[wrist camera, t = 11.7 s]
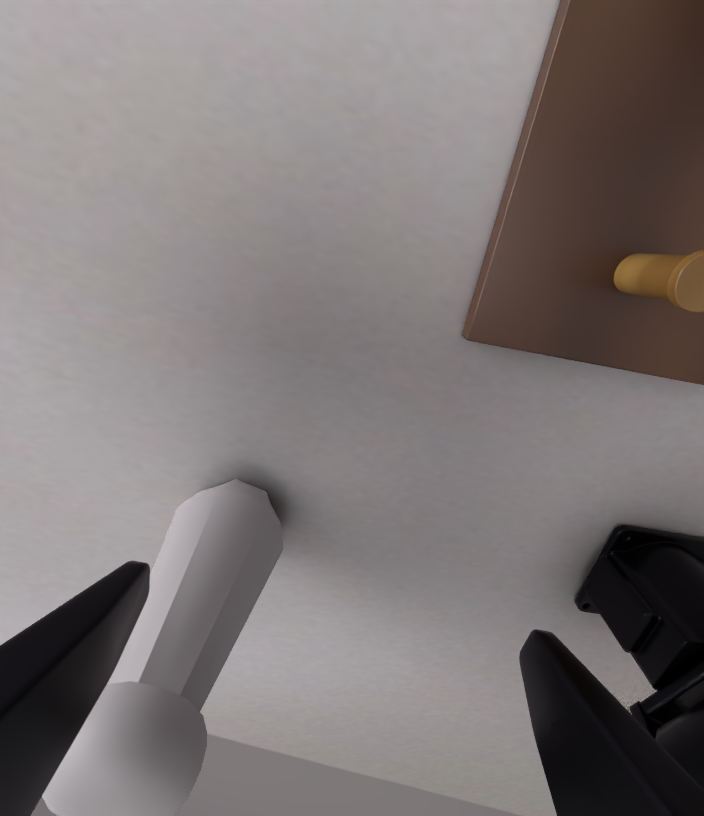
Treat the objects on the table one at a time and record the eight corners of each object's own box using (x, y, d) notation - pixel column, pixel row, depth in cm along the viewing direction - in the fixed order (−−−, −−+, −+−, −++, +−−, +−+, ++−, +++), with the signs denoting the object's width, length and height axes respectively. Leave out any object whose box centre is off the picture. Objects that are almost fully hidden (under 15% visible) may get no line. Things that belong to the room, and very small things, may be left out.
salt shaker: (208, 449, 21) (5, 724, 9) (306, 490, 22) (240, 789, 10) (177, 527, 23) (-21, 834, 11) (267, 561, 24) (175, 881, 12)
